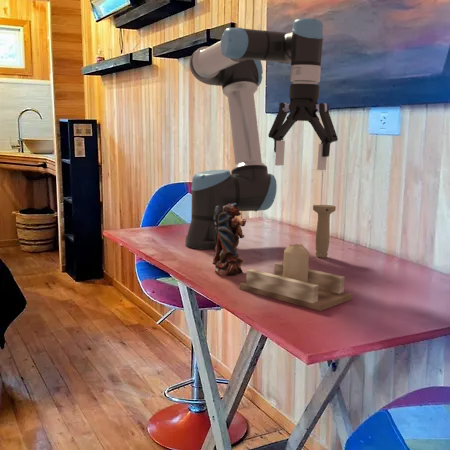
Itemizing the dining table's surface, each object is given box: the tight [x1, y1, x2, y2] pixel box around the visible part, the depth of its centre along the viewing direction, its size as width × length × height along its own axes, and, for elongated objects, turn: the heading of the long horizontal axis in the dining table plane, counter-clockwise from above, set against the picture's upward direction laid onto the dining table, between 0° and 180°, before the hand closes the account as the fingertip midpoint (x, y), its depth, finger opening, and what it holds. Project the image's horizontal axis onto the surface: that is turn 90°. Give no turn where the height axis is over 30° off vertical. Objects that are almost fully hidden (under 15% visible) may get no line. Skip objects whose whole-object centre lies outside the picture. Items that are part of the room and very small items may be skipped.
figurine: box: [212, 203, 247, 277], centre depth 143 cm, size 11×9×18 cm
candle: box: [283, 243, 310, 283], centre depth 125 cm, size 6×6×10 cm
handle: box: [312, 204, 337, 259], centre depth 163 cm, size 5×6×15 cm
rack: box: [239, 261, 353, 312], centre depth 126 cm, size 22×12×5 cm, turn 47°
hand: (299, 167), depth 147 cm, fingers open, 13 cm apart
